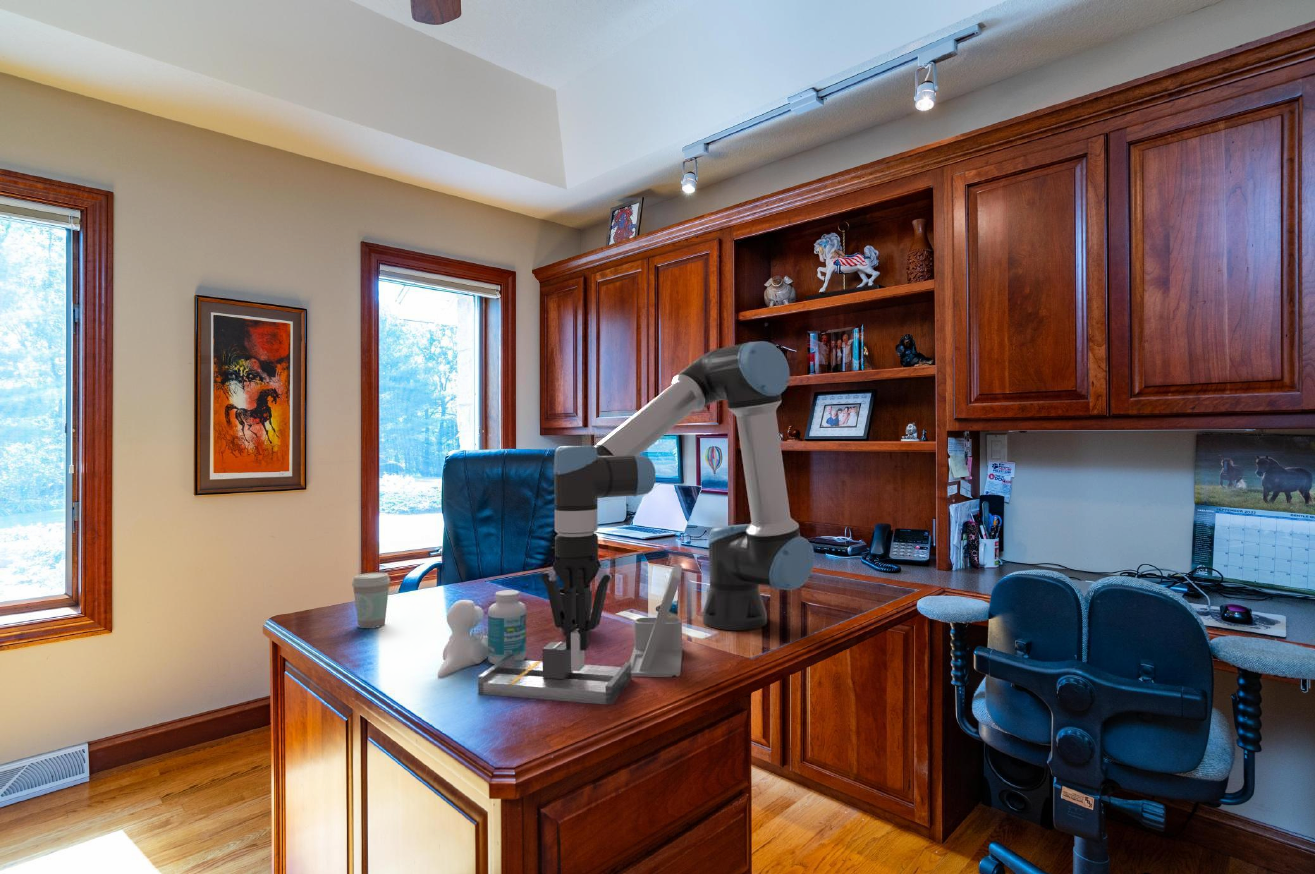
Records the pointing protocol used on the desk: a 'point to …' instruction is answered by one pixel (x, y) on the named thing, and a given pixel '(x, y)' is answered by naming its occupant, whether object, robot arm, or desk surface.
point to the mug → (576, 606)
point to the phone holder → (659, 638)
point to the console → (554, 682)
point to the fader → (556, 661)
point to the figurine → (464, 638)
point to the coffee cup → (371, 598)
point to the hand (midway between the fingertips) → (577, 667)
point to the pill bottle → (506, 627)
